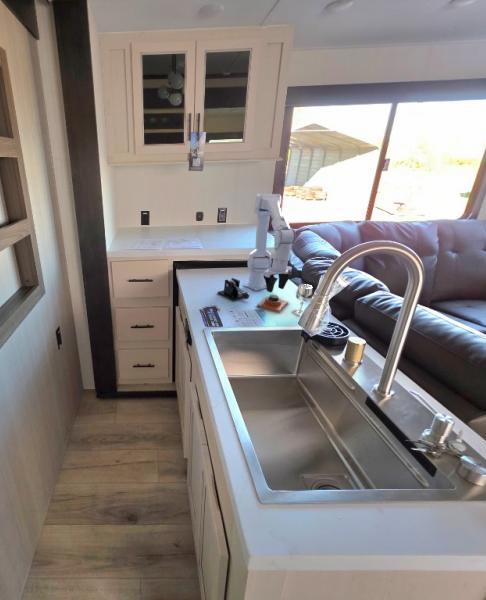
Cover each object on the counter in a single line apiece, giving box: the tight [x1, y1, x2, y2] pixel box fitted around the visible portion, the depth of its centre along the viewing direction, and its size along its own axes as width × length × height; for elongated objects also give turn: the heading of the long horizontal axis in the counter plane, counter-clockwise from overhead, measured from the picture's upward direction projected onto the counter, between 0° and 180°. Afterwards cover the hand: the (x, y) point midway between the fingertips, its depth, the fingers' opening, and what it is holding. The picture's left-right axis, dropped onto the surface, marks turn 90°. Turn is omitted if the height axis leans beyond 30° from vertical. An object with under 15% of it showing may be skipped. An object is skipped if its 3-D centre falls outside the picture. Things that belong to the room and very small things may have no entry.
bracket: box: [217, 277, 244, 302], centre depth 144 cm, size 10×7×8 cm
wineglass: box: [293, 283, 313, 316], centre depth 127 cm, size 6×6×12 cm
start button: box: [269, 294, 280, 301], centre depth 135 cm, size 4×4×2 cm
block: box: [257, 295, 289, 313], centre depth 136 cm, size 12×9×3 cm
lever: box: [229, 279, 250, 300], centre depth 141 cm, size 12×3×3 cm, turn 31°
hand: (275, 290), depth 133 cm, fingers open, 7 cm apart
